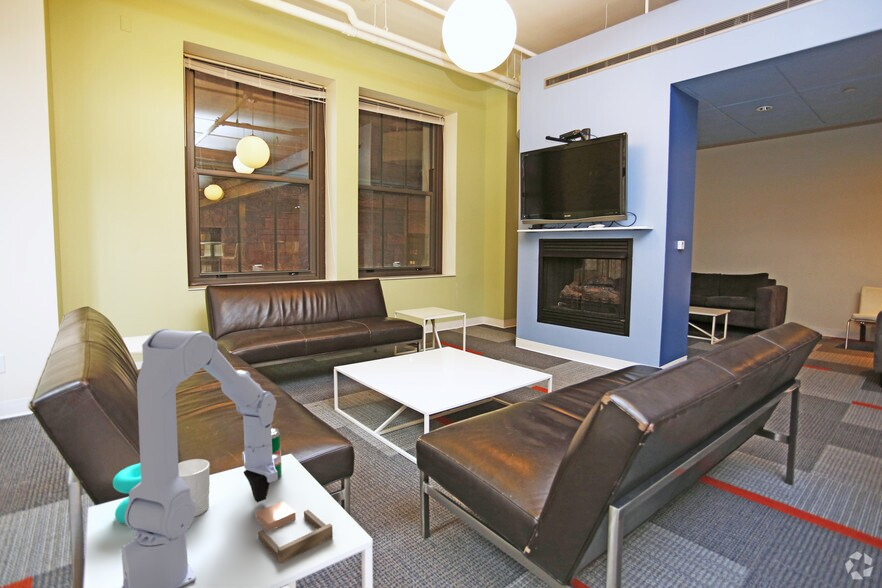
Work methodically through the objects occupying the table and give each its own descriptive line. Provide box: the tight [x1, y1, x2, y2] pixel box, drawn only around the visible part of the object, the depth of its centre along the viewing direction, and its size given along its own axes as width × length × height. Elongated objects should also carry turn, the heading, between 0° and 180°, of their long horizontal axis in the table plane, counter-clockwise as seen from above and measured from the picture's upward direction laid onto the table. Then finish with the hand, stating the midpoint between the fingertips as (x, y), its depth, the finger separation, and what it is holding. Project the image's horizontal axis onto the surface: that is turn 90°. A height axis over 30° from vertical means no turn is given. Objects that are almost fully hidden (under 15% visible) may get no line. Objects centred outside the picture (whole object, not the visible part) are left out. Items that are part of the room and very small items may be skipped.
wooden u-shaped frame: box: [257, 509, 334, 564], centre depth 92 cm, size 11×10×2 cm
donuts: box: [112, 462, 141, 525], centre depth 100 cm, size 10×10×10 cm
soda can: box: [271, 427, 283, 479], centre depth 116 cm, size 5×5×12 cm
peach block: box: [255, 500, 297, 532], centre depth 99 cm, size 6×6×2 cm
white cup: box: [178, 458, 210, 518], centre depth 101 cm, size 8×8×10 cm
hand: (260, 499), depth 104 cm, fingers closed
